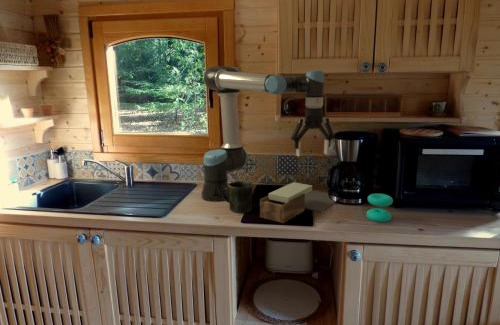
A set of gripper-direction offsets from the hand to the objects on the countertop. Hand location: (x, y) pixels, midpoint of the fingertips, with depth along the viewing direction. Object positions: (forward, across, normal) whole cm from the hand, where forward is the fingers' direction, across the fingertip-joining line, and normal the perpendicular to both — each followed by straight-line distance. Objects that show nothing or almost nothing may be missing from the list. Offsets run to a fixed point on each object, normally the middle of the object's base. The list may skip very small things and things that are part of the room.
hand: (312, 155), depth 159 cm
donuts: (+25, +22, -21) cm, 39 cm away
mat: (+25, +7, +8) cm, 27 cm away
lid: (+18, -10, 0) cm, 20 cm away
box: (+25, -15, -4) cm, 29 cm away
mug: (+25, -33, +7) cm, 42 cm away
